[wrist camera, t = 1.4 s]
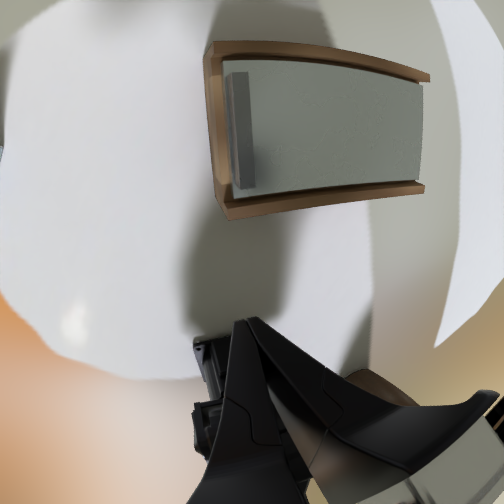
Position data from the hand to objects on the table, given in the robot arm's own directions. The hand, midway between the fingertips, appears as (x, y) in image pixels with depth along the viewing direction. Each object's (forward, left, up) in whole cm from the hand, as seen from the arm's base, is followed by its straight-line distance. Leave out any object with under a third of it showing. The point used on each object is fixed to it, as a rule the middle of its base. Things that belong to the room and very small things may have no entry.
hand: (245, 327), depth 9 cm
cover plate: (+6, -9, -8) cm, 14 cm away
